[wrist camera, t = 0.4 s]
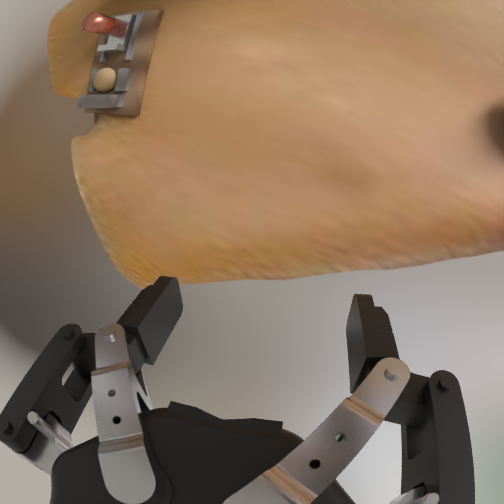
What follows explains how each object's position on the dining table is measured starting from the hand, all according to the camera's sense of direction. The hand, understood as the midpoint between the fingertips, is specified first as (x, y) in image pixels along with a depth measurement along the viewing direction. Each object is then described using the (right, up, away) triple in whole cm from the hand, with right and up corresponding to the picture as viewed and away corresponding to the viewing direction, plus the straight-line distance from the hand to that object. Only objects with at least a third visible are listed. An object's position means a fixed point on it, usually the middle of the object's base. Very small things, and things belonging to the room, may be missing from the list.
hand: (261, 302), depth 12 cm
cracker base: (-21, +32, +20) cm, 43 cm away
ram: (-20, +36, +16) cm, 44 cm away
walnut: (-22, +29, +20) cm, 41 cm away
